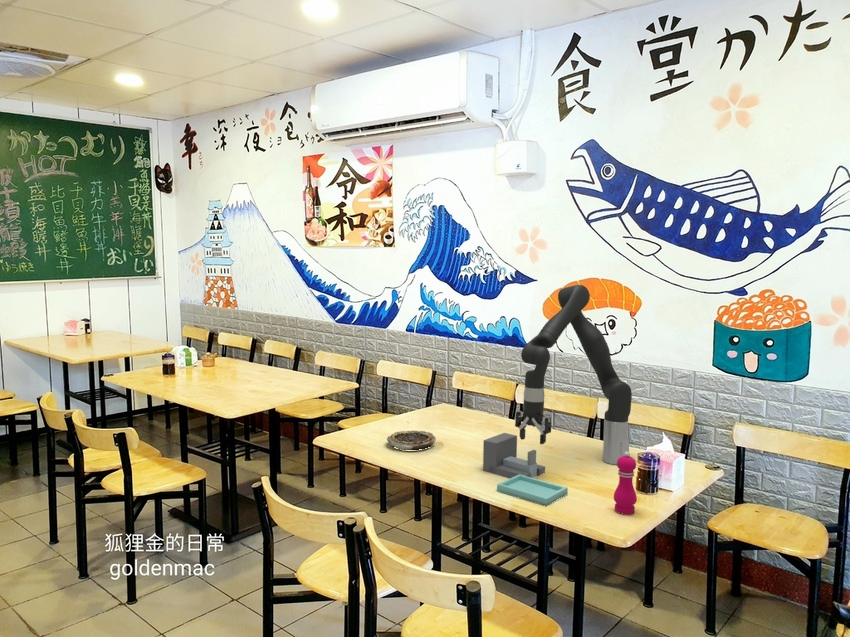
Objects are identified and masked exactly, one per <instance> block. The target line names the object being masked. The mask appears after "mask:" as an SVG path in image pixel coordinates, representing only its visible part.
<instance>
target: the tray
mask: <svg viewBox="0 0 850 637" xmlns="http://www.w3.org/2000/svg"><path fill="white" fill-rule="evenodd" d="M568 490H569V489H568V487H567V486H563V485H559V484H557V483H553V482H552V483H551V482H549V481H545V480H541V479H538V478H535V477H532V478H531V477H527V476H524V475H520V474H519V475H517V476H514V477H512V478H508V479H506V480H503V481H501V482H499V483H498V484H496V491H497V492H498V493H501V492H502V494H506V495H508V496H511V495H512V497H514V496H516V498H518V497H519V499H521V498H522V500H524V499H525V501H528V502H531V501H532V502H531V503H534V502H536V503H535V504H537V503H539V504H538V505H541V504H542V505H541V506H544V505H545V507H548V506H550V505H551V504H553V503H555V502H556V500H557V499H559V498H560V499H562V498H564V497H566V496H567V495H568ZM566 494H567V495H566ZM565 495H566V496H565ZM563 496H564V497H563ZM561 497H562V498H561ZM560 499H559V500H560ZM554 501H555V502H554ZM557 501H558V500H557ZM552 502H553V503H552ZM550 503H551V504H550ZM549 504H550V505H549ZM547 505H548V506H547Z"/></svg>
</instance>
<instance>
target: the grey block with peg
mask: <svg viewBox="0 0 850 637" xmlns="http://www.w3.org/2000/svg"><path fill="white" fill-rule="evenodd" d="M537 465H538V463H537V450H536V449H532V450H529V451H527V459H523V458H520V457H519V458H518V457H517V458H516V457H512V456H510V457H507V458H505V459H503V466H507V467H510V468H514V469H518V470H521V471H525V472H529V473H531V478H535V477H537V476H538V475H537ZM536 475H537V476H536ZM534 476H535V477H534Z"/></svg>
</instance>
